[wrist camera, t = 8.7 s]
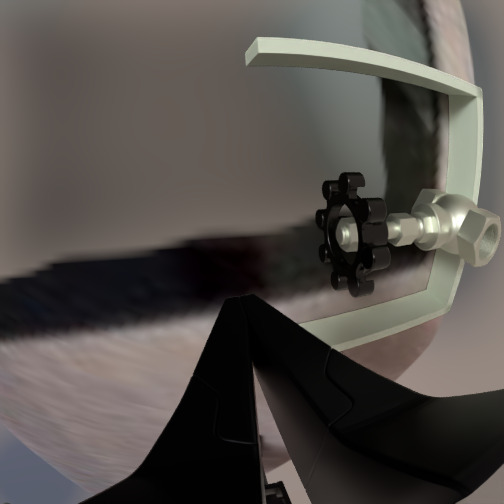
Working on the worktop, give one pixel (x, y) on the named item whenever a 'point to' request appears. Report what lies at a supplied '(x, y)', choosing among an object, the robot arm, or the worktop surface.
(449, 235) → the valve
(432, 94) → the worktop surface
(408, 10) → the worktop surface
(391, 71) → the u-shaped bracket
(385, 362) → the worktop surface
